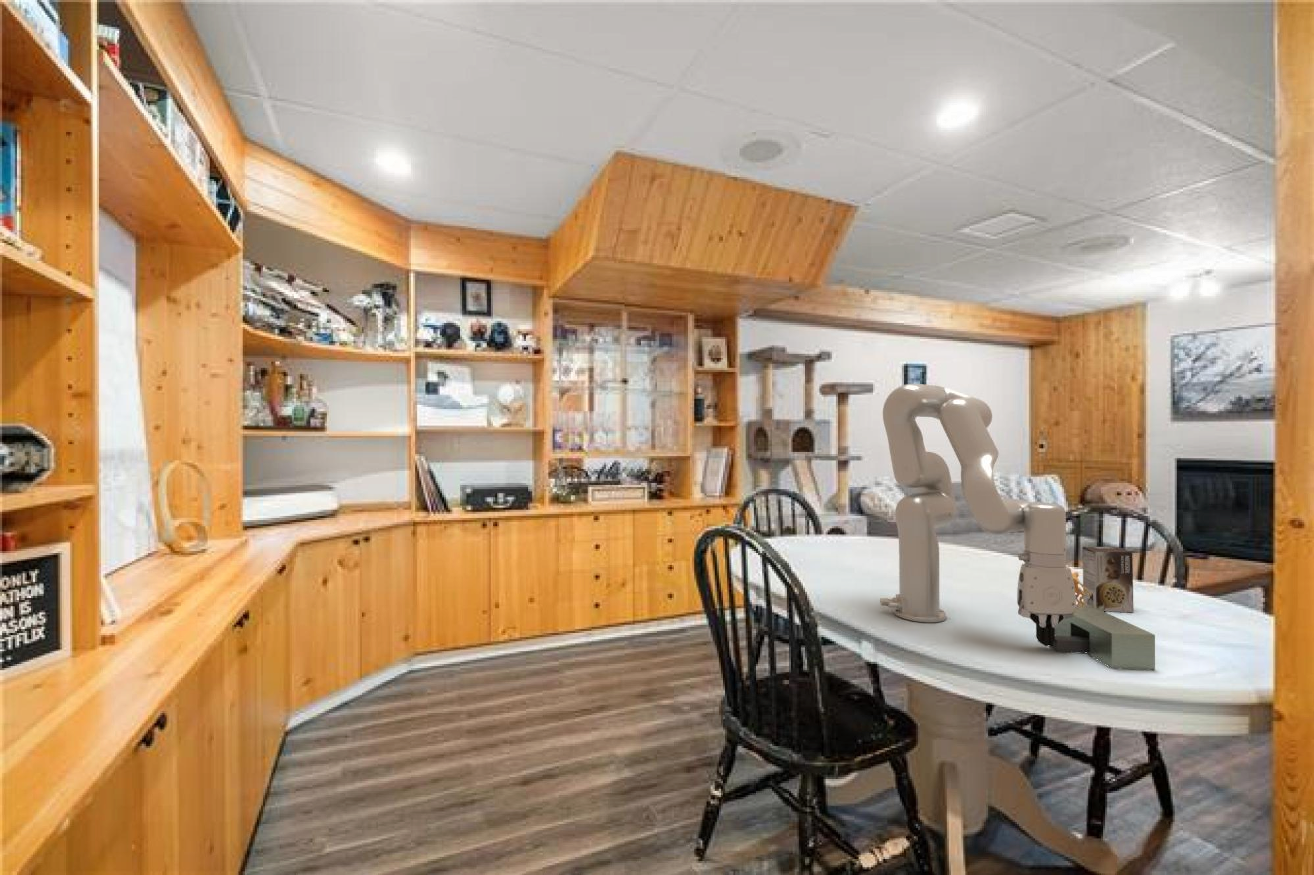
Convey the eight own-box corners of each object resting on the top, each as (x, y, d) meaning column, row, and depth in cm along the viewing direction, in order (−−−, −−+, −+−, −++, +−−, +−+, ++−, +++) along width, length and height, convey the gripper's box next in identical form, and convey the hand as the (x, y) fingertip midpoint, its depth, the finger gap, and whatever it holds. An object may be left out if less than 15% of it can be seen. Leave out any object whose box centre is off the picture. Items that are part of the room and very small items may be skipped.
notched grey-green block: (1111, 668, 115) (1111, 633, 115) (1052, 634, 134) (1052, 604, 134) (1155, 670, 114) (1154, 634, 114) (1089, 635, 134) (1089, 605, 134)
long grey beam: (1058, 653, 123) (1058, 634, 123) (1047, 645, 127) (1047, 627, 127) (1154, 657, 120) (1154, 637, 120) (1139, 649, 125) (1139, 630, 125)
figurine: (1104, 624, 141) (1103, 575, 141) (1079, 624, 141) (1079, 575, 141) (1079, 614, 149) (1079, 568, 149) (1056, 614, 149) (1056, 568, 149)
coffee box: (1118, 605, 156) (1118, 546, 156) (1134, 613, 150) (1134, 551, 150) (1081, 604, 158) (1081, 545, 158) (1095, 611, 151) (1095, 550, 151)
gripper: (1017, 563, 122) (1017, 649, 122) (1092, 564, 121) (1093, 651, 121) (1000, 555, 130) (1000, 636, 130) (1071, 556, 128) (1071, 638, 128)
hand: (1045, 643), depth 125 cm, fingers closed
